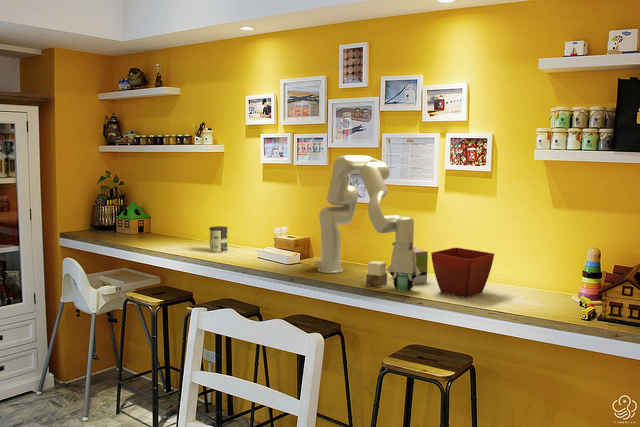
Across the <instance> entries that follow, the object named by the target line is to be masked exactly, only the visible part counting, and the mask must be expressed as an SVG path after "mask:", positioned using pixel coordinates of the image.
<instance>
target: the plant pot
mask: <svg viewBox="0 0 640 427" xmlns="http://www.w3.org/2000/svg"><path fill="white" fill-rule="evenodd" d="M430 256H431V263H432V267H433V271H434V276H435V280H436V281H437V282H436V283H437V286H438V289H439V290H440V292H441V293H444V292H446V293H445V294H448V293H450V295H452V294H455V295H454V296H457V295H459V296H458V297H461V296H463V297H462V298H469V296H470V297H472V295H473V296H475V295H478V294H482V292H483V291H484V289H485V286H486V285H487V284H486V283H487V282H488V279H489V276H490V273H491V270H492V266H493V262H494V257H495V253H493V252H489V251H481V250H475V249H468V248H463V247H450V248H447V249H442V250H438V251H437V250H436V251H433V252H431V255H430Z"/></svg>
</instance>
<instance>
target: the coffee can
mask: <svg viewBox="0 0 640 427" xmlns="http://www.w3.org/2000/svg"><path fill="white" fill-rule="evenodd" d="M228 249H229V248H228V226H220V225H219V226H210V227H209V252H210V253H212V254H223V253H228V252H229V251H228Z"/></svg>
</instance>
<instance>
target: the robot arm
mask: <svg viewBox="0 0 640 427" xmlns="http://www.w3.org/2000/svg"><path fill="white" fill-rule="evenodd" d="M331 172H332V173H331V179H330V182H329V186H328V190H327V194H326V195H327V196H326V201H327V203H328V204H329V205H332V206H329V205H328V206H325V207H323V208H322V209H321V210H320V211H319V214H318V216H319V217H318V218H319V225H320V260H314V261H313V265H314V266H318V268H317V272H319V273H323V274H338V273H343V272H344V267H341V246H342V245H341V243H342V240H341V239H342V238H341V236H342V235H341V231H340V229H339V227H338V226H345V225H349V224H350V223H351V222H352V221H353V218H354V214H355V212H356V207H357V205H358V204H357V203H358V201H359V200H358V198H359V193H358V189H357V188H356V187H355V186H354V185H351V184H349V183H350V174H351V175H353V174H356V175H357V174H358V175H359V174H360V177H361V180H362V182H363V185H364V188H365V189H366V191H367V194H368V197H369V201H368V208H367V214H368V217H369V221H370V223H371V225H372V226H373V228H374V230H375V231H376V232H377V233H379V234H388V233H395V237H394V238H395V241H394V242H392V243H391V246H393V247H395V249H393V248H392V253H391V261H390V265H389V266H388V267H386V271H387V273H389V274H390V276H391V277H392V279H393V286H394V289H397V275H398V274H399V273H403V274H408V277H409V280H408V291H410V290H411V289H412V288H413V287H414V284H413V279H414V278H415V277H417V276H418V275H419V274H421V272H420V270H419V269H418V268H417V266H416V256H415V250H414V249H413V247H414V230H415V220H414V218H413V217H411V216H403V215H399V214H386V215H384V213H383V211H382V208H381V200H382V199H383V198H385V197H386V196H387V195H388V194H389V190H388V188H387V185H386V182H385V181H386V180H387V179H388V178H389V176H390V169H389V166H388V165H387V163H385V162H384V161H382V160H379V159H376V158H374V157H372V156H369V155H365V154H364V155H363V154H361V155H360V154H359V155H357V154H348V155H346V154H345V155H339V156H337V157H336V159H335V160H334V161H333V164H332V171H331ZM415 271H416V274H414V275H413V273H414V272H415Z"/></svg>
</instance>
